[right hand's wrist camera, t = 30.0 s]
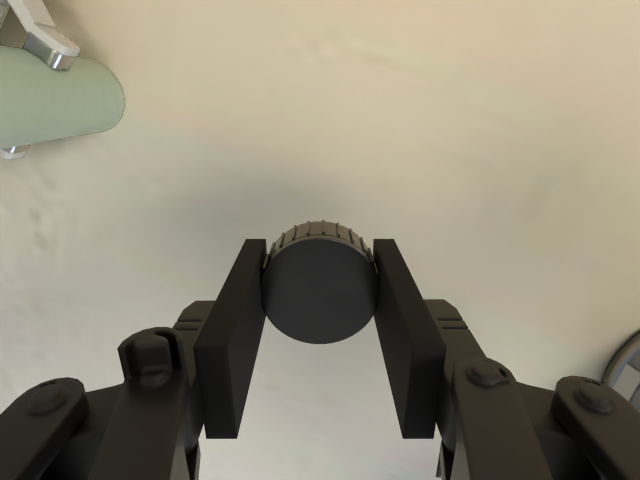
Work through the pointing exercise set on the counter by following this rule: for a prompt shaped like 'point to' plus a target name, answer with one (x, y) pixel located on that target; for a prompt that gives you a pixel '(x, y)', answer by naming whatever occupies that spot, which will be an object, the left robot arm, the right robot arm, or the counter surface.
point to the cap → (319, 283)
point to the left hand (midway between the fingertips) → (45, 106)
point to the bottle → (54, 99)
